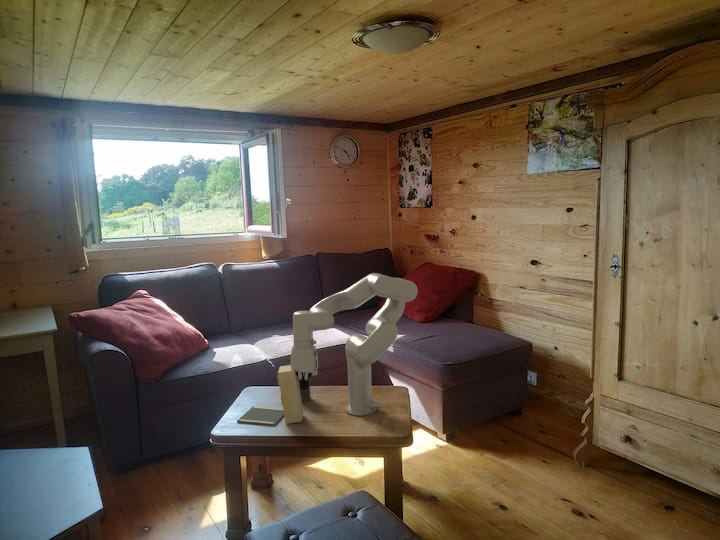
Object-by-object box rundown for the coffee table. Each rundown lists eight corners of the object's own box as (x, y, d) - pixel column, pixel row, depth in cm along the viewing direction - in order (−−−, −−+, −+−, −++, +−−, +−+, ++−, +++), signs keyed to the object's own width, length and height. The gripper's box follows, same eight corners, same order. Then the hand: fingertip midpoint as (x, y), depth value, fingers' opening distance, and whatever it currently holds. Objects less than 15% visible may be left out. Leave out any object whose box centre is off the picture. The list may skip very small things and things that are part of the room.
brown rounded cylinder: (290, 401, 213) (288, 357, 210) (297, 395, 220) (295, 352, 217) (306, 403, 211) (304, 358, 208) (313, 396, 218) (311, 353, 215)
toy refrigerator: (285, 415, 199) (278, 366, 196) (303, 413, 199) (296, 364, 196) (283, 424, 191) (275, 373, 188) (302, 422, 191) (295, 370, 189)
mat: (288, 411, 203) (288, 409, 203) (274, 426, 190) (274, 424, 190) (253, 408, 207) (252, 406, 207) (237, 422, 194) (236, 420, 193)
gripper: (324, 341, 191) (325, 386, 194) (288, 339, 195) (290, 383, 197) (318, 346, 184) (319, 393, 187) (281, 344, 188) (283, 390, 190)
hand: (304, 388), depth 192 cm, fingers closed
